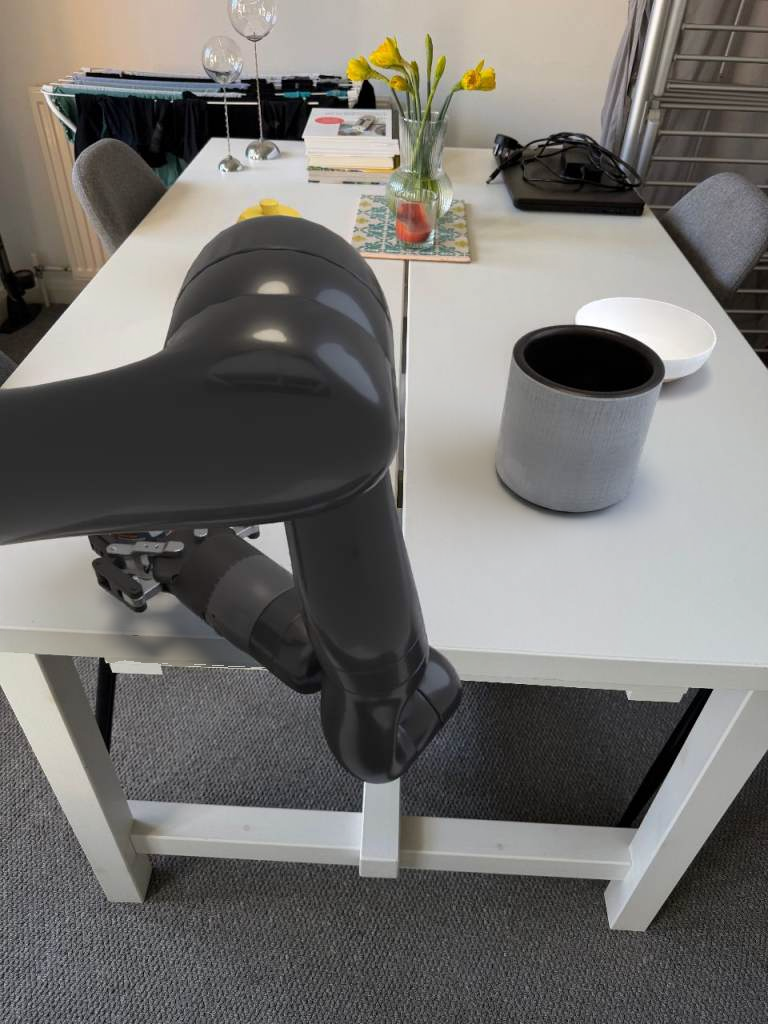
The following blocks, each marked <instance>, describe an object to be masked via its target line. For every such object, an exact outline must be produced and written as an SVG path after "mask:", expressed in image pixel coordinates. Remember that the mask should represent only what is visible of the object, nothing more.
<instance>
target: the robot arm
mask: <svg viewBox="0 0 768 1024" xmlns="http://www.w3.org/2000/svg"><path fill="white" fill-rule="evenodd" d="M394 341H395V340H394V326H393V320H392V316H391V312H390V307H389V304H388V300H387V298H386V295H385V292H384V290H383V288H382V286H381V284H380V282H379V280H378V277H377V276H376V274H375V272H374V270H373V268H372V267H371V266H370V265H369V263H368V262H367V261H366V260H365V258H364V257H363V255H362V254H361V253H360V252H359V251H358V250H357V249H356V248H355V247H354V246H353V245H352V244H350V242H348V241H347V240H346V239H345V238H344V237H343V236H341V235H340V234H339V233H336V232H335V231H333V230H331V229H330V228H328V227H326V226H325V225H323V224H320V223H318V222H314V221H312V220H309V219H306V218H303V217H302V218H299V217H292V216H285V215H271V216H258V217H254V218H250V219H246V220H243V221H240V222H238V223H236V222H235V223H234V224H232V225H231V226H228V227H227V228H225V229H223V230H221V231H220V232H219V233H217V234H216V235H215V236H213V238H212V239H211V240H210V241H209V242H208V243H206V245H204V246H203V248H202V250H201V251H200V252H199V253H198V255H197V256H196V258H195V259H194V260H193V262H192V263H191V265H190V267H189V269H188V270H187V272H186V275H185V277H184V278H183V282H182V284H181V287H180V289H179V292H178V294H177V297H176V299H175V302H174V306H173V309H172V314H171V317H170V322H169V325H168V329H167V333H166V336H165V340H164V344H163V347H162V349H161V350H160V351H158V352H156V353H155V354H152V355H150V356H148V357H146V358H143V359H140V360H137V361H134V362H132V363H128V364H124V365H122V366H119V367H115V368H111V369H108V370H104V371H100V372H96V373H92V374H87V375H82V376H77V377H72V378H67V379H61V380H56V381H52V382H46V383H41V384H36V385H29V386H20V387H9V388H7V387H6V388H5V387H0V546H2V547H3V546H9V545H16V544H24V543H31V542H39V541H48V540H56V539H65V538H75V537H87V538H88V539H87V540H88V541H89V545H90V548H91V550H92V551H93V552H94V553H96V554H97V555H98V556H99V557H96V558H94V559H93V560H92V562H91V566H92V569H93V570H94V573H95V576H96V580H97V584H98V586H99V587H101V589H103V590H104V591H106V592H108V594H110V595H111V596H112V597H113V598H115V599H116V600H117V601H119V602H120V603H122V604H123V605H124V606H126V607H127V608H128V609H130V610H131V611H133V612H134V613H136V614H142V613H144V612H145V611H146V610H147V609H148V601H149V600H150V599H152V598H153V597H155V596H156V595H157V594H159V593H160V592H161V593H166V594H169V595H172V596H174V597H175V598H176V599H177V600H178V601H179V602H180V603H181V604H182V605H183V606H184V607H185V608H187V609H188V610H189V611H190V612H192V613H193V614H194V615H195V616H196V617H198V618H199V619H200V620H201V621H203V622H204V623H205V624H206V625H207V626H208V627H210V629H212V630H213V632H214V633H215V634H216V635H218V636H219V637H220V638H223V639H224V640H225V641H226V642H228V644H230V645H232V646H233V647H235V648H236V649H237V650H239V651H240V652H242V653H244V654H246V655H247V656H249V657H251V658H252V659H253V660H255V662H257V663H258V664H259V665H260V666H262V667H263V668H264V669H266V670H267V671H268V672H269V673H270V674H272V675H273V676H274V677H275V678H277V679H278V680H279V681H280V682H281V683H282V684H284V685H285V686H287V688H289V689H290V690H292V691H294V692H295V693H297V694H300V695H306V696H307V695H313V694H317V693H320V704H319V712H320V713H319V714H320V715H319V716H320V724H321V729H322V733H323V736H324V739H325V741H326V744H327V747H328V749H329V750H330V752H331V754H332V755H333V757H334V758H335V760H336V762H338V764H339V765H340V766H341V768H342V769H344V770H345V771H346V772H347V773H348V774H349V775H350V776H352V777H354V778H355V779H357V780H359V781H362V782H364V783H367V784H372V785H384V784H388V783H392V782H394V781H397V780H398V779H400V778H401V777H402V776H404V774H406V772H408V771H409V769H410V768H411V767H412V766H413V765H414V763H415V762H416V761H417V760H418V759H419V757H420V756H421V755H422V754H423V752H424V751H425V750H426V749H427V747H428V746H429V745H430V744H431V742H432V741H433V740H434V739H435V737H436V736H437V735H438V734H439V733H440V731H441V730H442V729H443V728H444V727H445V725H446V724H447V723H448V722H449V721H450V719H451V718H452V717H453V716H454V715H455V713H456V712H457V710H458V708H459V707H460V705H461V703H462V699H463V685H462V682H461V681H462V680H461V678H460V676H459V674H458V672H457V669H456V667H454V665H453V664H452V662H451V661H450V660H449V658H447V657H446V656H445V655H444V654H443V653H442V652H440V651H439V650H438V649H437V648H435V647H433V646H431V645H430V644H429V639H428V634H427V629H426V624H425V619H424V615H423V610H422V606H421V602H420V598H419V593H418V589H417V585H416V580H415V577H414V572H413V569H412V564H411V561H410V557H409V554H408V548H407V546H406V545H407V544H406V541H405V536H404V533H403V530H402V525H401V521H400V517H399V513H398V512H399V511H398V508H397V502H396V498H395V493H394V487H393V484H392V477H391V471H390V467H391V466H392V463H393V461H394V459H395V457H396V453H397V450H398V443H399V437H400V407H399V406H400V405H399V390H398V389H399V388H398V385H397V373H396V371H397V370H396V361H395V360H396V359H395V342H394ZM278 523H283V526H284V531H285V536H286V542H287V548H288V553H289V559H290V566H291V571H292V573H291V572H290V571H289V570H287V568H285V567H284V566H282V565H281V564H279V563H278V562H277V561H275V560H274V559H272V558H270V556H268V555H266V553H264V552H262V551H261V550H260V549H259V548H257V547H255V546H254V545H253V544H251V543H250V542H248V541H247V540H245V538H248V539H250V540H255V539H256V540H257V539H258V538H260V537H261V531H260V526H261V525H271V524H278ZM174 530H175V531H174ZM157 531H174V532H173V533H172V534H169V535H166V536H164V537H162V538H160V539H158V540H157V542H146V541H137V542H136V543H135V544H134V545H130V544H118V541H117V540H116V539H115V538H114V537H113V536H111V535H110V534H122V533H139V532H157ZM147 555H148V556H153V565H152V564H150V563H149V562H148V558H147ZM125 558H131V559H133V560H125ZM126 573H131V574H136V575H137V576H136V575H135V576H133V577H130V576H129V575H128V574H126ZM138 577H140V578H146V579H151V580H143V579H140V578H138Z"/></svg>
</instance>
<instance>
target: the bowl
mask: <svg viewBox="0 0 768 1024" xmlns="http://www.w3.org/2000/svg"><path fill="white" fill-rule="evenodd" d="M573 325H588V326H595V327H601V328H606V329H610V330H613V331H617V332H620V333H623V334H626V335H628V336H630V337H633V338H635V339H637V340H639V341H641V342H642V343H644V344H646V345H647V346H648V347H650V348H651V349H652V350H654V351H655V352H656V353H657V354H658V356H659V357H660V358H661V360H662V361H663V363H664V366H665V377H664V380H663V383H670V382H673V381H676V380H679V379H682V378H683V377H687V376H689V375H691V374H693V373H695V372H697V371H698V370H699V369H700V368H701V367H702V366H703V365H704V364H705V362H707V361H708V360H709V358H710V356H711V354H712V353H713V350H714V348H715V346H716V344H717V335H716V334H717V333H716V332H715V329H714V328H713V327H712V325H711V324H710V323H709V322H707V321H706V320H705V319H704V318H702V317H701V316H699V315H698V314H696V313H694V312H692V311H690V310H688V309H685V308H683V307H680V306H678V305H675V304H673V303H668V302H664V301H662V300H661V301H660V300H655V299H651V298H645V297H644V298H643V297H632V296H631V297H629V296H627V297H626V296H618V297H617V296H616V297H606V298H602V299H597V300H594V301H591V302H588V303H586V304H584V305H583V306H581V307H580V308H579V309H578V310H577V311H576V313H575V315H574V318H573Z"/></svg>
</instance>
